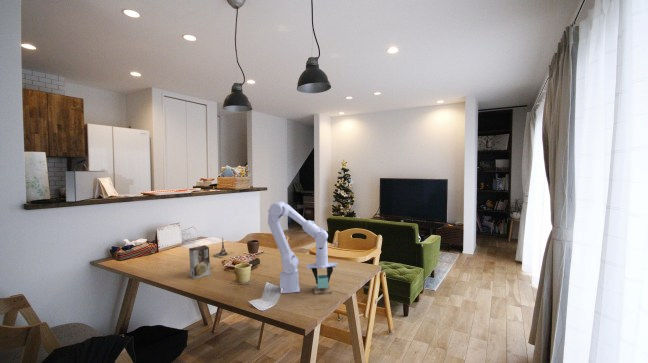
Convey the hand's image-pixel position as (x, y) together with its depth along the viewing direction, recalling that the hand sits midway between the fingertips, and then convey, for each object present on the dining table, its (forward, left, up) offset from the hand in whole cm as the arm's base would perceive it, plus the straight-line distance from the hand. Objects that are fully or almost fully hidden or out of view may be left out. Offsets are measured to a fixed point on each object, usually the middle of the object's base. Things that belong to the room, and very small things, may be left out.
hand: (322, 282), depth 140 cm
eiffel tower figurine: (-62, +71, -5) cm, 95 cm away
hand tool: (-40, +39, -4) cm, 56 cm away
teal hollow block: (0, 0, -1) cm, 1 cm away
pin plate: (0, 0, -4) cm, 4 cm away
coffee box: (-66, +32, -4) cm, 73 cm away
